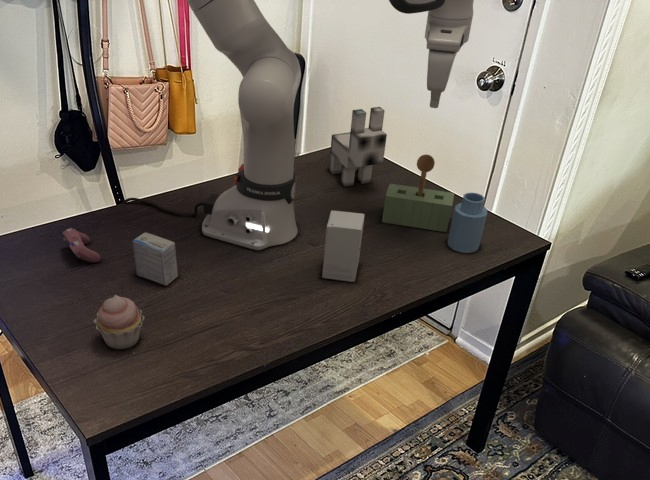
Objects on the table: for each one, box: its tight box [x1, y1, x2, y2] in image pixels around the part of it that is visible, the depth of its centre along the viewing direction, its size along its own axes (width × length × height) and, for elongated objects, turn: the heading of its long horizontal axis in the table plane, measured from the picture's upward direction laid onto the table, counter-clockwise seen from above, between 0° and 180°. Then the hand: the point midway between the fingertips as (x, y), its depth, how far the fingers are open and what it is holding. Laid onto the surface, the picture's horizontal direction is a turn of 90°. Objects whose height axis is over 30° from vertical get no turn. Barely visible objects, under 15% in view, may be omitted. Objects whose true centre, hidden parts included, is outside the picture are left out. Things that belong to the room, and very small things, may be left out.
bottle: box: [447, 192, 489, 254], centre depth 159 cm, size 7×7×12 cm
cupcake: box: [93, 294, 145, 350], centre depth 130 cm, size 9×9×10 cm
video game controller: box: [62, 227, 101, 263], centre depth 154 cm, size 10×5×7 cm, turn 27°
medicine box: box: [132, 231, 179, 287], centre depth 147 cm, size 8×4×9 cm, turn 59°
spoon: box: [416, 153, 436, 197], centre depth 166 cm, size 4×1×17 cm, turn 75°
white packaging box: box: [321, 209, 366, 283], centre depth 149 cm, size 7×7×13 cm
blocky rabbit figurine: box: [328, 106, 388, 187], centre depth 181 cm, size 8×18×20 cm, turn 22°
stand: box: [381, 183, 455, 233], centre depth 169 cm, size 16×7×7 cm, turn 75°
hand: (436, 99), depth 151 cm, fingers open, 8 cm apart
